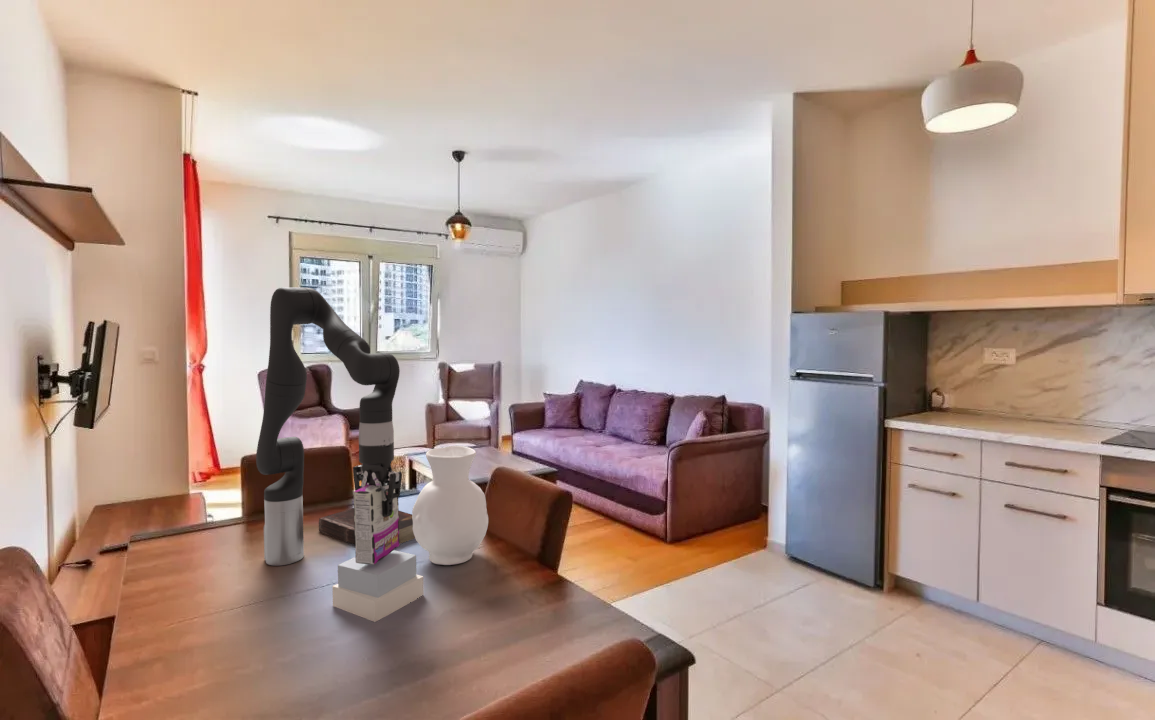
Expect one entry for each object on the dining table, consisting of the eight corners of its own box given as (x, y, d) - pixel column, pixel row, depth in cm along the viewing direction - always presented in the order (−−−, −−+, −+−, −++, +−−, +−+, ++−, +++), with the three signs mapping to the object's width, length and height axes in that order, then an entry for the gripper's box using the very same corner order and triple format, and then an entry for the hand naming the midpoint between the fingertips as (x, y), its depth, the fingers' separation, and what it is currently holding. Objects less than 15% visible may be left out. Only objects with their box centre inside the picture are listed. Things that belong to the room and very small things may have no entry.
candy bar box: (381, 544, 133) (380, 477, 133) (400, 546, 132) (399, 478, 132) (353, 563, 122) (352, 490, 122) (373, 565, 121) (373, 491, 121)
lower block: (332, 607, 125) (332, 586, 125) (382, 583, 137) (382, 563, 137) (375, 624, 118) (374, 601, 118) (423, 597, 130) (423, 576, 130)
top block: (338, 586, 125) (337, 565, 125) (378, 566, 136) (377, 546, 135) (378, 597, 120) (377, 575, 119) (416, 575, 130) (416, 555, 130)
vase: (438, 582, 137) (437, 462, 136) (401, 556, 153) (400, 449, 152) (501, 562, 149) (501, 452, 148) (461, 540, 166) (461, 440, 164)
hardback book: (318, 533, 172) (318, 517, 172) (372, 516, 188) (371, 502, 187) (374, 555, 155) (374, 537, 155) (428, 535, 171) (428, 519, 170)
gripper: (341, 440, 126) (342, 513, 127) (385, 447, 119) (385, 524, 120) (368, 435, 133) (369, 504, 134) (411, 441, 126) (412, 514, 127)
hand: (377, 513), depth 127 cm, fingers closed on candy bar box, 6 cm apart
